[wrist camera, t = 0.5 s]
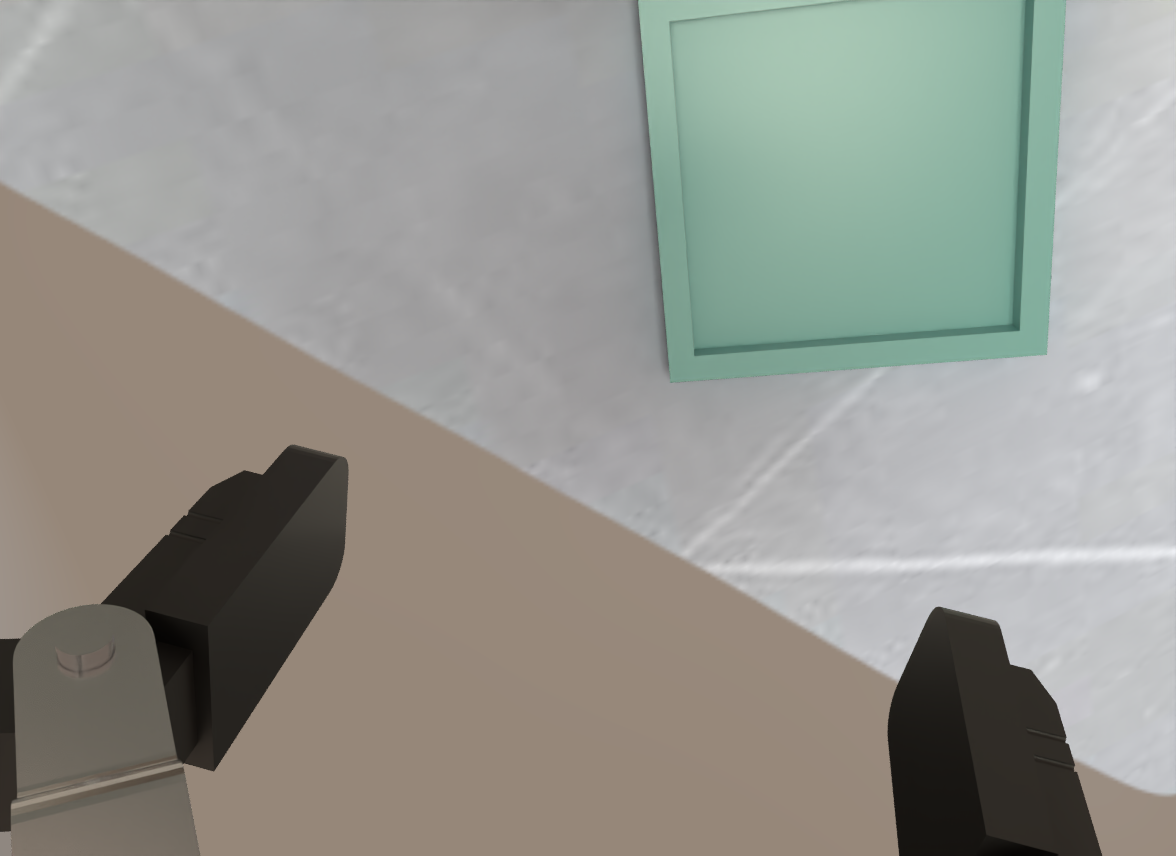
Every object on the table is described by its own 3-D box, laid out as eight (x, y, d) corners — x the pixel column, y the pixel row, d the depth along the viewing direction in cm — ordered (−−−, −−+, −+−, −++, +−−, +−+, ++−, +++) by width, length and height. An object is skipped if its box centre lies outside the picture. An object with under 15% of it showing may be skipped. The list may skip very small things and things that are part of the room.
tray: (639, -5, 35) (637, -7, 34) (1053, -57, 34) (1069, -60, 32) (671, 370, 40) (670, 382, 39) (1033, 343, 39) (1046, 354, 37)
